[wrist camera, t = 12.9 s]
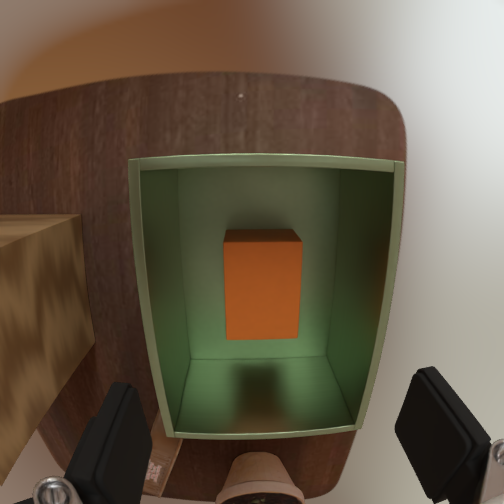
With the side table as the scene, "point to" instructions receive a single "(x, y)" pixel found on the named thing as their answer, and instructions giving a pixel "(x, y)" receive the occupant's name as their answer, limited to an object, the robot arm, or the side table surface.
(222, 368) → the trash bin
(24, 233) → the wood grain block
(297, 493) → the potted plant
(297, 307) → the block
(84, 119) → the side table surface
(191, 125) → the side table surface
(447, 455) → the robot arm
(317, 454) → the side table surface
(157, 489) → the tin
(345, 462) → the side table surface
